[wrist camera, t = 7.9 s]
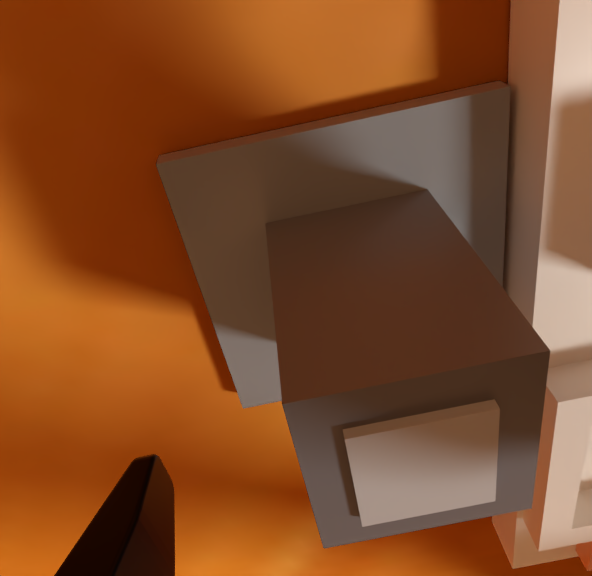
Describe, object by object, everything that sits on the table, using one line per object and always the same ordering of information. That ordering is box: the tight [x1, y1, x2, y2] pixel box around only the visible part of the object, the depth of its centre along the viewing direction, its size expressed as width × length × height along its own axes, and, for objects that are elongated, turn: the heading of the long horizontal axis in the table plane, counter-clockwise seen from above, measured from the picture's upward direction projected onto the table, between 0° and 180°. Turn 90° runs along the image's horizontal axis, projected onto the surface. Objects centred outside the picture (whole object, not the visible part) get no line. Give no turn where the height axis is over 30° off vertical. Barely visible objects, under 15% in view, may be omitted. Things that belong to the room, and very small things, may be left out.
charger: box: [265, 189, 550, 548], centre depth 11 cm, size 4×4×6 cm
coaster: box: [156, 80, 511, 408], centre depth 14 cm, size 8×8×1 cm
